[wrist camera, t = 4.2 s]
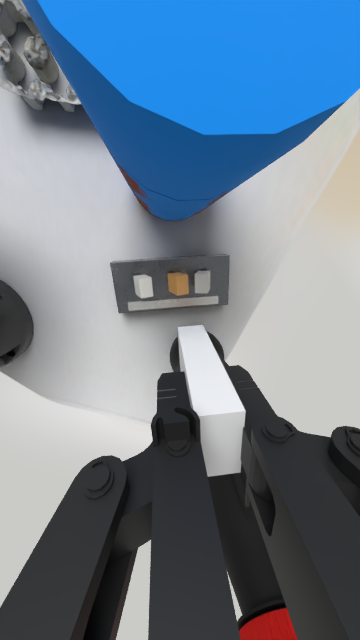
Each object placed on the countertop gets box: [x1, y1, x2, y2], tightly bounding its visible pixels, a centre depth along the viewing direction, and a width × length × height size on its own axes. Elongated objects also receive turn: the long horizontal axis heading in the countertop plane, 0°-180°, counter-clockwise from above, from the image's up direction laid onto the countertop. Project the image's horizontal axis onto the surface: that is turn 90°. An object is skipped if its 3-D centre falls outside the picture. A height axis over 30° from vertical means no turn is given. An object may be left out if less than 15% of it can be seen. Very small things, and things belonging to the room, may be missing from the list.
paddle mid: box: [168, 272, 189, 296], centre depth 27 cm, size 2×2×3 cm
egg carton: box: [0, 0, 81, 112], centre depth 20 cm, size 11×8×4 cm
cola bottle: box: [170, 331, 297, 640], centre depth 22 cm, size 8×8×30 cm
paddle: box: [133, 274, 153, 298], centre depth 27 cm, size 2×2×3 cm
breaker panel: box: [110, 254, 230, 313], centre depth 30 cm, size 16×7×3 cm, turn 93°
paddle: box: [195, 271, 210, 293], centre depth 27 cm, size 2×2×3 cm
